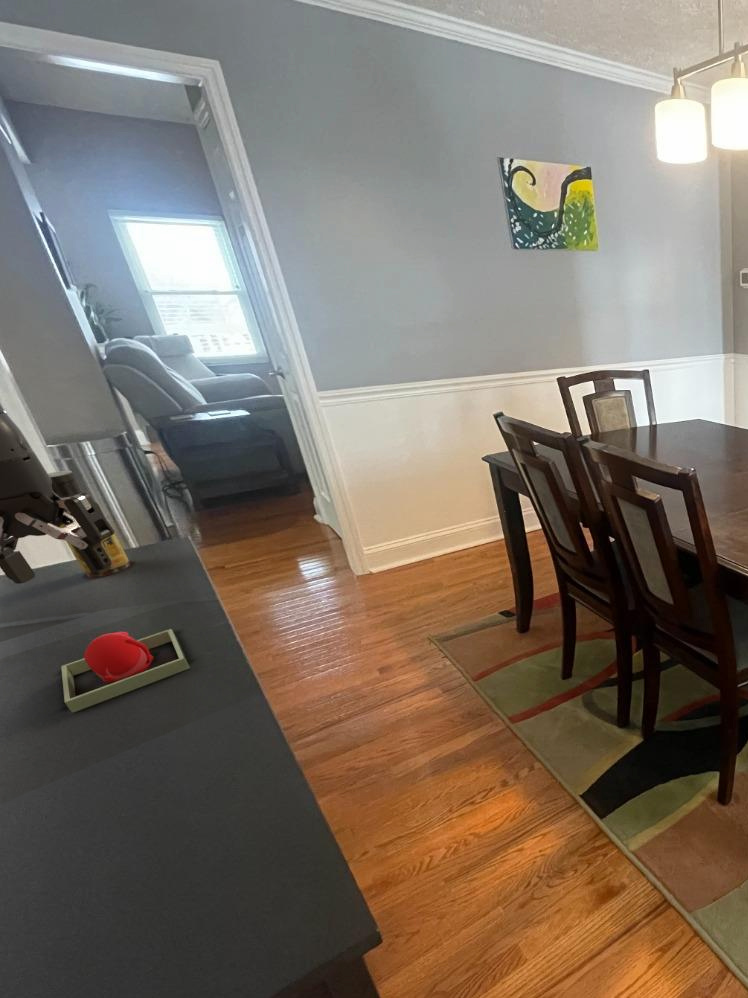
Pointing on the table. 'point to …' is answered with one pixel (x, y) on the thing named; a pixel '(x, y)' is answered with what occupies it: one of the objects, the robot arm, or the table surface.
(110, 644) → the cap
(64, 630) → the table surface
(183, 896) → the table surface
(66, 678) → the frame
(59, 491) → the sauce bottle
